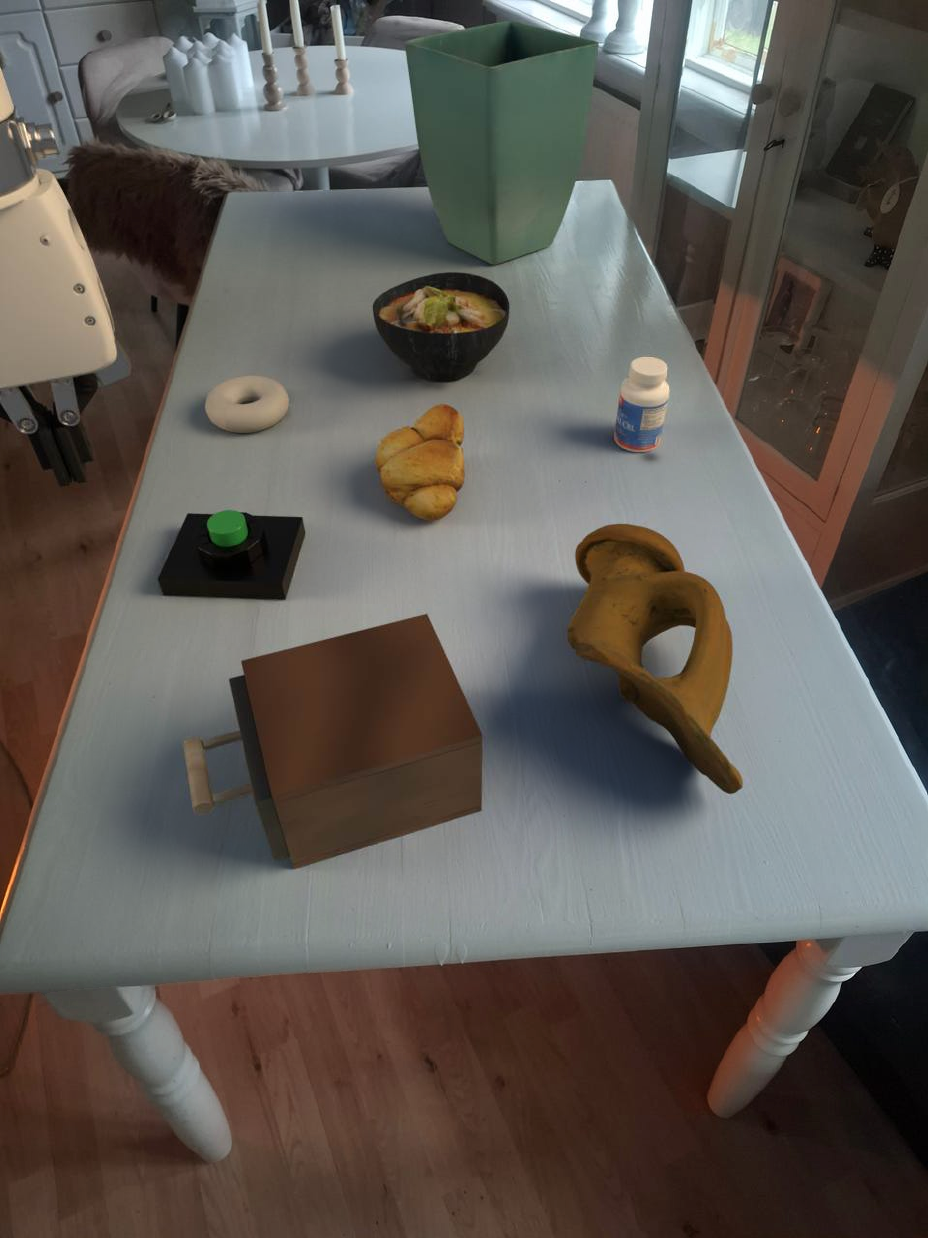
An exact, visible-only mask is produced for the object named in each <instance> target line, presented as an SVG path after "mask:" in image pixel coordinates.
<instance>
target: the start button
mask: <svg viewBox="0 0 928 1238" xmlns="http://www.w3.org/2000/svg"><path fill="white" fill-rule="evenodd" d="M240 512H241V511H238V510H234V509H225V510H221V511H218V512H216V513H213V514H214V515H212V516H211V517H210V518H209V520H208V522H207V528H208V531H209V535H210V538H211V541H212V542H213V543H214V544H215V545H217V546H220V547H230V546H234V545H237V544H240V543H242V542H243V541H244V540H245V539H246V538H247V536H248V529H247V525H246V521H245V517H244V516H243V514H242V513H240Z"/></svg>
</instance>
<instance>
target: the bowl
mask: <svg viewBox="0 0 928 1238" xmlns="http://www.w3.org/2000/svg"><path fill="white" fill-rule="evenodd" d="M510 307H511V306H510V300H509V298H508V296H507V294H506V292H505V291H504V290H503V289H502V288H501V286H499V285H498V284H497V283H495V282H494V281H493V280H491V279H488V278H487V277H483V276H482V275H477V274H473V273H468V272H458V271H447V272H438V273H437V272H436V273H432V274H428V275H424V276H420V277H419V276H418V277H416V278H413V279H410V280H408V281H405V282H402V283H400V284H398V285H395V286H392V287H391V288H389V289H387V290H385V291H384V292H382V293H381V294H380V295H378V296H377V298H375V300H374V301H373V304H372V314H373V320H374V323H375V327H376V329H377V332H378V334H379V336H380V337H381V339H382V340H383V342H384V344H385V345H386V346H387V348H388V349H389V351H391V352H392V353H393V354H394V355H395V356H396V357H397V358H398V359H399V360H401V361H402V362H403V363H404V364H407V365H408V366H409V368H410V370H411V371H412V373H413V374H414V375H415V376H416V377H419V378H421V379H424V380H426V381H429V382H435V383H449V382H455V381H459V380H462V379H464V378H466V377H468V376H469V375H471V374H472V373H473V372H474V371H475V368H476V367H477V365H478V364H479V363H480V362H482V361H483V360H484V359H485V358H486V357H488V355H489V354H491V352H492V351H493V350H494V348H495V347H496V346H497V345H498V344H499V342H500V341H501V340H502V338H503V337H504V334H505V331H506V329H507V327H508V324H509V319H510Z"/></svg>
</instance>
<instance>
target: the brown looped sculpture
mask: <svg viewBox="0 0 928 1238" xmlns="http://www.w3.org/2000/svg"><path fill="white" fill-rule="evenodd" d="M574 558H575V566H576V568H577V572H578V573H579V575H580V577H581V578H582V579H583V580H584V582H585V583H586V584H587V585H588V586H587V589H586V591H585V593H584V595H583V597H582V599H581V600H580V603H579V605H578V607H577V609H576V611H575V613H574V614H573V616H572V618H571V620H570V621H569V623H568V626H567V628H566V641H567V643H568V645H569V646H570V647H571V649H573V650H574V653H575V654H576V655H577V656H578V657H579V658H581V659H583V660H587V661H590V662H593V663H596V664H599V665H602V666H604V667H606V668H609V669H610V670H613V671H615V672H617V673H618V689H619V694H620V696H621V697H622V698H623V699H624V701H626V703H631V704H633V705H634V706H635V707H636V709H637V710H639V711H640V712H641V713H642V714H643V715H644V716H645V717H646V718H647V719H648V720H650V721H652V722H654V723H655V724H658V725H660V726H662V727H663V728H664V729H665V730H666V731H667V732H668V733H669V734H670V736H671V737H672V739H673V740H674V741H675V742H676V744H677V746H678V747H679V749H680V751H681V753H682V755H684V757H685V759H686V760H687V761H688V762H690V763H691V765H692V766H693V767H694V768H695V769H696V770H697V771H698V772H699V773H700V774H701V775H703V776H705V777H707V779H708V780H710V781H711V782H712V783H713V784H714V785H715V786H716V787H717V788H719V789H720V791H722V792H724V793H726V794H728V795H733V794H736V793H738V792H739V791H740V790H742V788H743V786H744V782H743V778H742V775H741V773H740V771H739V770H738V769H737V768H736V766H735V765H733V764H732V763H731V762H730V760H729V759H728V757H727V756H726V755H725V754H724V752H723V751H722V749H721V748H720V747H719V746H718V744H716V742H715V741H714V740H713V739H712V732H713V729H714V727H715V725H716V723H717V721H718V719H719V717H720V715H721V712H722V709H723V707H724V704H725V700H726V696H727V692H728V688H729V682H730V679H731V671H732V663H733V647H734V646H733V636H732V631H731V627H730V624H729V622H728V620H727V618H726V612H725V608H724V604H723V602H722V599H721V596H720V595H719V593H718V591H717V590H716V589H715V587H714V586H713V585H712V583H710V582H709V581H708V580H707V579H705V578H704V577H703V576H700V575H698V574H696V573H693V572H689V571H686V570H685V565H684V561H683V559H682V556H681V555H680V553H679V550H678V549H677V548H676V546H675V545H674V544H673V543H672V542H671V541H670V540H669V539H668V538H667V537H665V536H664V535H663V534H661V533H659V532H658V531H656V530H654V529H651V528H648V527H645V526H642V525H636V524H630V523H614V524H613V523H612V524H607V525H603V526H601V527H599V528H597V529H595V530H593V531H591V532H589V533H588V534H587V535H586V536H584V538H583V539H582V540H581V541H580V542H579V543H578V544H577V546H576V548H575V553H574ZM680 626H685V627H686V626H687V627H692V628H694V629H695V630H694V637H693V642H692V646H691V649H690V652H689V655H688V657H687V660H686V663H685V665H684V666H683V668H682V670H681V672H680V673H678V674H676V675H673V676H668V677H657V676H655V675H653V674H651V673H650V672H649V671H647V670H646V669H645V668H644V665H643V647H644V646H645V645H646V644H647V643H649V641H650V640H652V639H654V638H655V637H657V636H659V635H660V634H662V633H665V632H666V631H669V630H670V629H673V628H677V627H680Z"/></svg>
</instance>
